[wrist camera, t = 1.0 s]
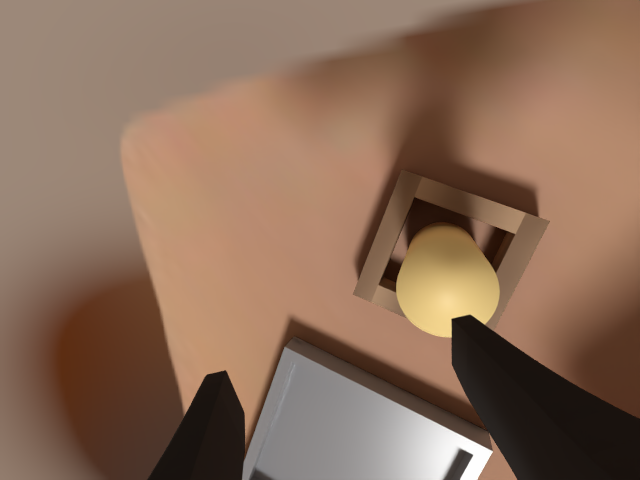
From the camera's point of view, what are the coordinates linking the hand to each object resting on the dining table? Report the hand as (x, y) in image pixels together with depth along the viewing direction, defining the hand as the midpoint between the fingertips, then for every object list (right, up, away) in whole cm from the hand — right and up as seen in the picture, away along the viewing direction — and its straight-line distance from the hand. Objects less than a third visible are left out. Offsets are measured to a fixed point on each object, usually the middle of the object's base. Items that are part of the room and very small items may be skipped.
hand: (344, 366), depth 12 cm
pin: (+7, +3, +11) cm, 13 cm away
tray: (+2, -12, +15) cm, 19 cm away
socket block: (+7, +3, +11) cm, 13 cm away
